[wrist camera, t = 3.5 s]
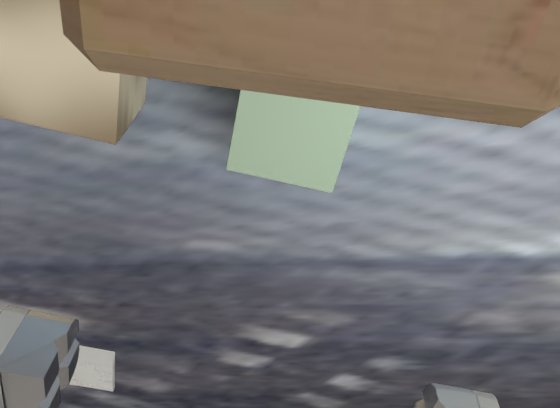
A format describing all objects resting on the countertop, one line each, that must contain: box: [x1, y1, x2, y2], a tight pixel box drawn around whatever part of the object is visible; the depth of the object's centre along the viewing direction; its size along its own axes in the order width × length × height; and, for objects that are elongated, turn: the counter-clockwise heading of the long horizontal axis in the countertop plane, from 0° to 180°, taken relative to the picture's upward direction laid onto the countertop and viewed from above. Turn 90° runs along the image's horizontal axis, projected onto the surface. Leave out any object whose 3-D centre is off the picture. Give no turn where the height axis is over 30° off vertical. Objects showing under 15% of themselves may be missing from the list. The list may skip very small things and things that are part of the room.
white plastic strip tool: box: [69, 345, 115, 392], centre depth 40 cm, size 5×15×1 cm, turn 79°
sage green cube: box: [226, 90, 360, 193], centre depth 24 cm, size 5×5×5 cm
